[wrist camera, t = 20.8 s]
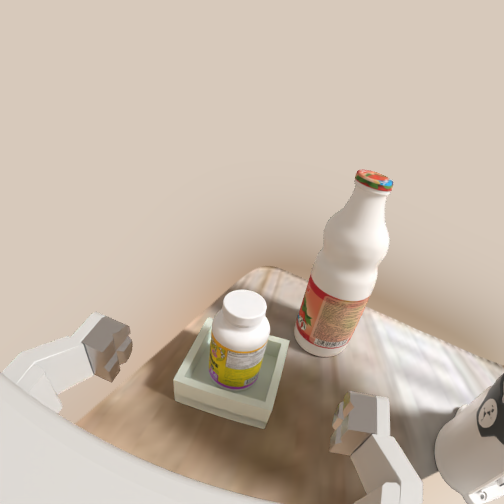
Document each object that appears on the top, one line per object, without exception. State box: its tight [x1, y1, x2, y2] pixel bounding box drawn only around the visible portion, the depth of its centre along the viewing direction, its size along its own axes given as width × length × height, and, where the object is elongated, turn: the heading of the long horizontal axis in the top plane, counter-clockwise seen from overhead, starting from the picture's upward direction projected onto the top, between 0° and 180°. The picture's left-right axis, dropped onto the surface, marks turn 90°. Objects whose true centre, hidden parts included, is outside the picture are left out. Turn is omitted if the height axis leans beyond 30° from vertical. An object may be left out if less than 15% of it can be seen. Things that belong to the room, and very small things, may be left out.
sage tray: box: [173, 317, 290, 429], centre depth 40 cm, size 12×12×5 cm
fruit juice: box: [294, 170, 393, 357], centre depth 44 cm, size 9×9×28 cm
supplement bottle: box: [209, 290, 270, 391], centre depth 37 cm, size 7×7×13 cm
